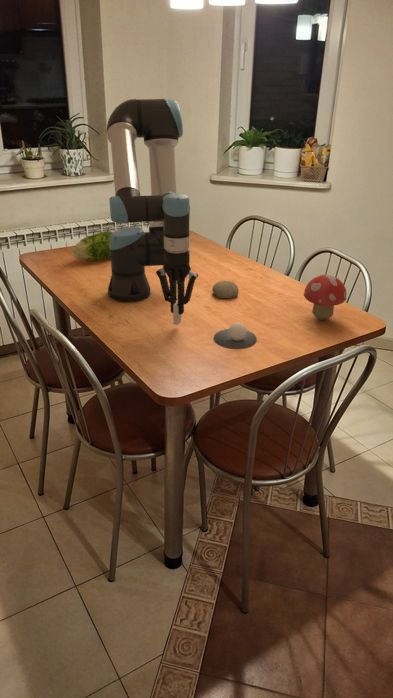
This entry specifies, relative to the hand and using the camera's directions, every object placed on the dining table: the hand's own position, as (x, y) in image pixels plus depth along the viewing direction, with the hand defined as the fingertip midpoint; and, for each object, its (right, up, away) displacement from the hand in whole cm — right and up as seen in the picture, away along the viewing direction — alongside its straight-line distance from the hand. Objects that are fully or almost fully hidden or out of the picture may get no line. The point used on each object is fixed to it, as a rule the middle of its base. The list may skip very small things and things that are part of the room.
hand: (177, 322), depth 165 cm
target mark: (+18, -5, -5) cm, 19 cm away
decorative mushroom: (+47, +1, +8) cm, 48 cm away
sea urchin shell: (+16, +11, +26) cm, 32 cm away
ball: (+18, -3, -7) cm, 20 cm away
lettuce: (-36, +29, +58) cm, 74 cm away
